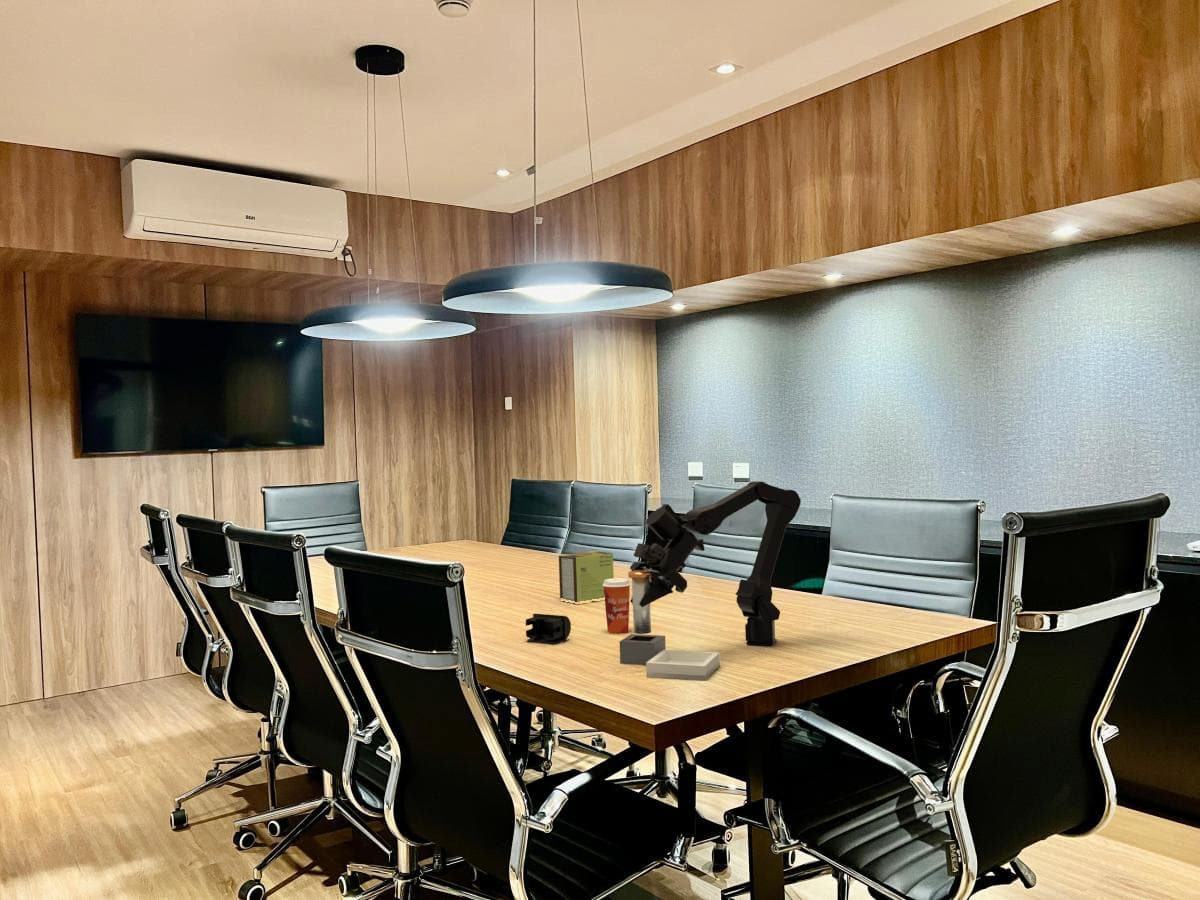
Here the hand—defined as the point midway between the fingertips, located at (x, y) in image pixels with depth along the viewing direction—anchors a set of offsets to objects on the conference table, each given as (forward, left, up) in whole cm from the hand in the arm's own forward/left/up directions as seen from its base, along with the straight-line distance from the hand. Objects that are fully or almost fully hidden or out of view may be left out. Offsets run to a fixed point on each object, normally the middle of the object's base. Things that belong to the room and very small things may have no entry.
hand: (636, 604), depth 205 cm
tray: (-13, +7, -13) cm, 20 cm away
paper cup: (+16, -31, -13) cm, 37 cm away
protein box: (+44, -78, -13) cm, 91 cm away
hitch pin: (-1, -1, -7) cm, 7 cm away
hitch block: (-1, -1, -13) cm, 13 cm away
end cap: (+30, -16, -13) cm, 37 cm away
